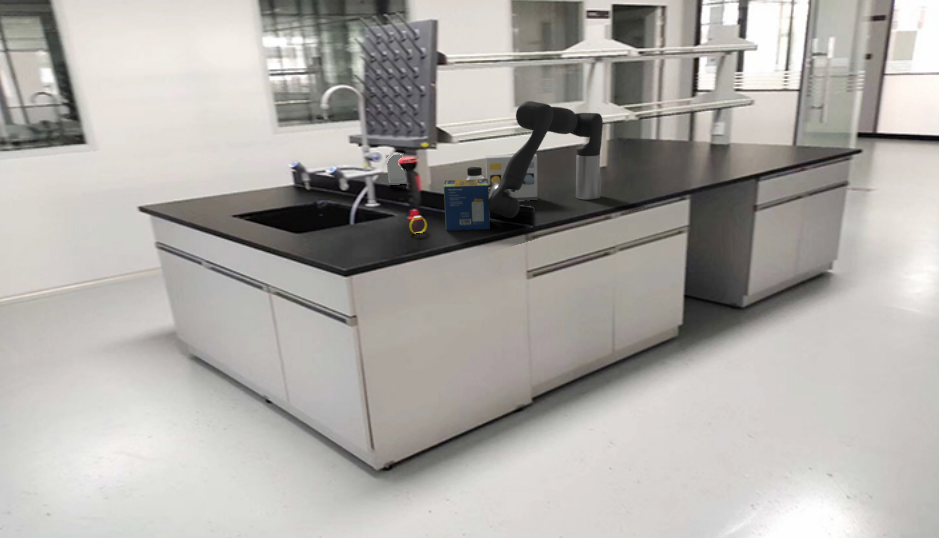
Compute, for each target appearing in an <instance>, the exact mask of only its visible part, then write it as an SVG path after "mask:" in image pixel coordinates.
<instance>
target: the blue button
mask: <svg viewBox="0 0 939 538" xmlns="http://www.w3.org/2000/svg"><path fill="white" fill-rule="evenodd" d="M524 181H525V183H526V184H527V185H531V184H532V183H533V182H534V178H533V177H532V175H531V174H526V176H525V178H524Z"/></svg>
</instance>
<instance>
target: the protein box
mask: <svg viewBox="0 0 939 538" xmlns="http://www.w3.org/2000/svg"><path fill="white" fill-rule="evenodd" d="M443 195H444V196H443V200H444V215H445V216H444V218H445V219H444V220H445V221H444V222H445V231H463V230H462V229H465V230H466V231H467V230H468V231H470V230H472V229H473V230H490V229H491V228H490V227H491V226H490V224H491V223H490V219H491V218H490V216H491V215H490V212H491V211H490V210H489V209H488V200H489V189H488V179H486V178H485V179H472V180H466V179H455V180H453V179H451V180H447V179H446V180H445V181H444V183H443ZM465 230H464V231H465Z"/></svg>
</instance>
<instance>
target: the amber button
mask: <svg viewBox="0 0 939 538" xmlns="http://www.w3.org/2000/svg"><path fill="white" fill-rule="evenodd" d="M491 182H492V184H494V183H495V182H501V180H500V177H499V176H497V175H494V176H492V178H491Z"/></svg>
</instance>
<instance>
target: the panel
mask: <svg viewBox="0 0 939 538" xmlns="http://www.w3.org/2000/svg"><path fill="white" fill-rule="evenodd" d="M514 154H515V153H512V154H511V153H510V154H493V155H492V154H491V155H485V176H486V177H485V179H488V184H492V182H491V178H492V176H494V175H497V176H499V177H500V180H502V178H503V175H504V172H505V170H506V167H507V164H508V162H509V160H510V159H511V157H512V156H513V155H514ZM526 174H531V175H532V177H533V178H534V182H533V183H532V184H531V185H527V184H526V183H525V181H523V184H522V186H521V188H520V190H515V192H511V195H513V196H515V197H516V198H517V199H518V200H537V201H538V155H537V153H535V155H534V157H533V159H532V161H531V163H530V165H529V168H528V170H527V173H526ZM489 198H490V194H489Z"/></svg>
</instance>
